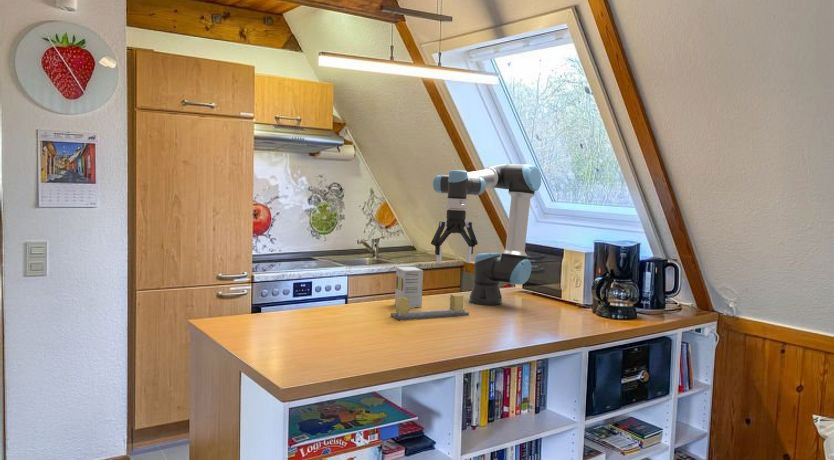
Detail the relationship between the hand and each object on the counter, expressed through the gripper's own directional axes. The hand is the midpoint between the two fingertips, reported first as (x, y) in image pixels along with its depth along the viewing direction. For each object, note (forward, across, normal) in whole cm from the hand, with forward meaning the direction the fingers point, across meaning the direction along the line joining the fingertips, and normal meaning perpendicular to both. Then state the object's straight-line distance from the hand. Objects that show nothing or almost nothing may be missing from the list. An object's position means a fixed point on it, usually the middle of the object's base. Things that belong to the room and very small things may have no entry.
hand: (453, 263), depth 251 cm
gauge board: (+24, -3, +12) cm, 27 cm away
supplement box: (+24, -2, +33) cm, 41 cm away
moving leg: (+22, -16, +13) cm, 30 cm away
